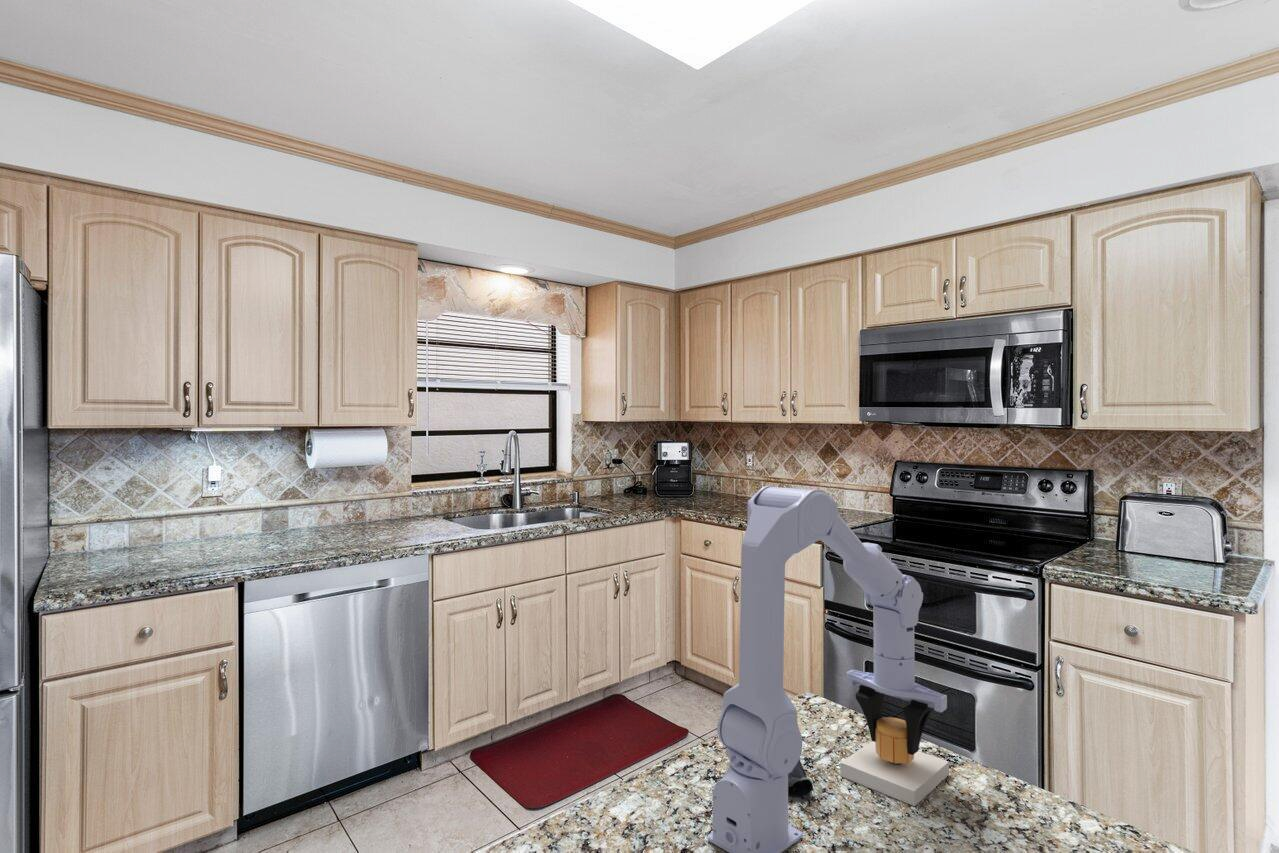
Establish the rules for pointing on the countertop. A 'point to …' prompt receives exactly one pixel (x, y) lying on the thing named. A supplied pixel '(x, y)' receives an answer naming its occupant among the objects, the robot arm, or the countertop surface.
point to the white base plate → (895, 774)
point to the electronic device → (799, 781)
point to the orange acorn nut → (892, 740)
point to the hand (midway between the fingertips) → (894, 745)
